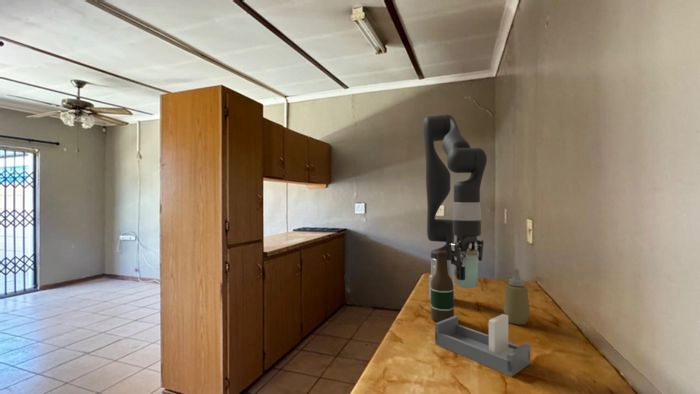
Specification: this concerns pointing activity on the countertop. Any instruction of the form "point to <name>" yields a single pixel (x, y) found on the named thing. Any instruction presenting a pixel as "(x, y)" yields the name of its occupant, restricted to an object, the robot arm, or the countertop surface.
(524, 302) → the squeeze bottle
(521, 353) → the gray rectangular tray
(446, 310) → the beer bottle
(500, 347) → the pusher
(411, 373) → the countertop surface
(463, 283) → the jar
